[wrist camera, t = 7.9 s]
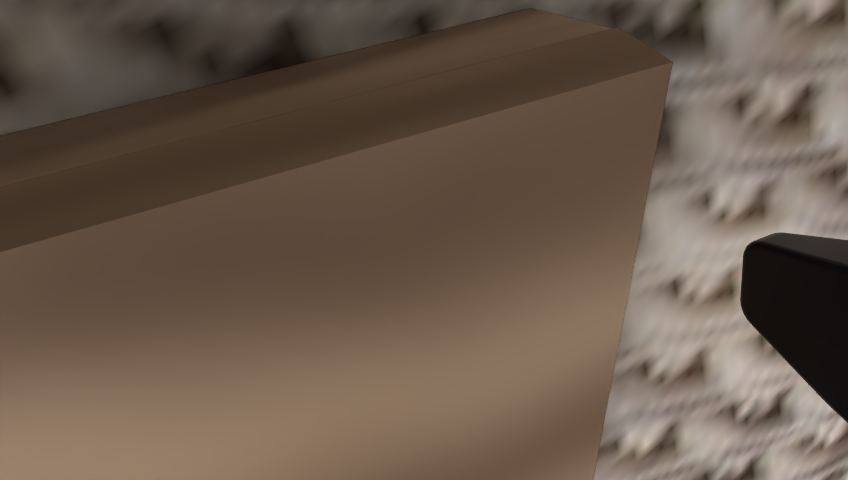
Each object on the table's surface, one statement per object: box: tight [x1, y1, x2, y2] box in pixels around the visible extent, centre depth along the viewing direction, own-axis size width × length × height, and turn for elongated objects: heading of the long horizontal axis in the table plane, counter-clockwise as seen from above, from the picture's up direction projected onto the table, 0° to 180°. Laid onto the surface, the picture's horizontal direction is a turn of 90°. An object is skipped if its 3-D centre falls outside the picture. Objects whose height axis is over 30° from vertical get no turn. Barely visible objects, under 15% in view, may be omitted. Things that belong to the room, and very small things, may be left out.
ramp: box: [0, 8, 673, 480], centre depth 14 cm, size 14×10×5 cm
